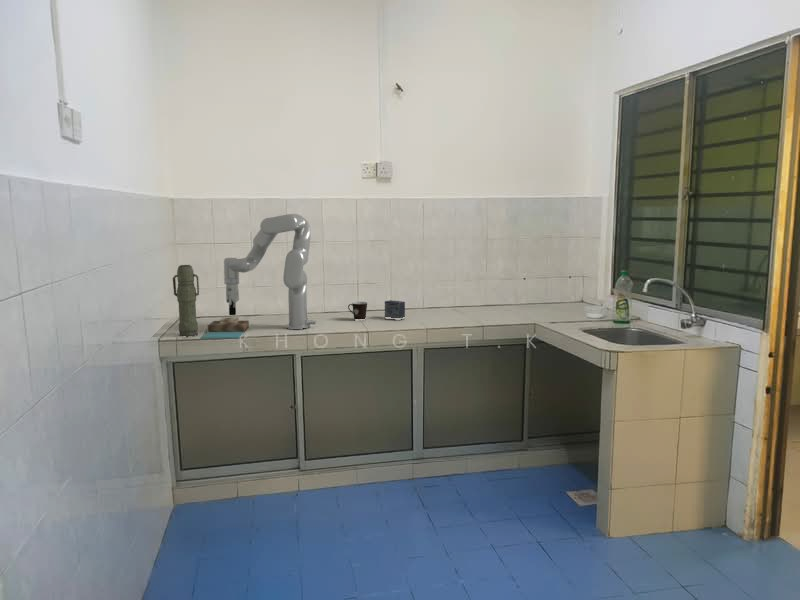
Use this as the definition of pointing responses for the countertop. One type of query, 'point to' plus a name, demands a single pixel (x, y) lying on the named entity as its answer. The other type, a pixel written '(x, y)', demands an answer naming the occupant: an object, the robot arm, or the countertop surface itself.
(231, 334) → the mat
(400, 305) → the small box
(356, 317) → the coffee mug
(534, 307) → the countertop surface
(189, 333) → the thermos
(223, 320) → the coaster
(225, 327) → the riser
